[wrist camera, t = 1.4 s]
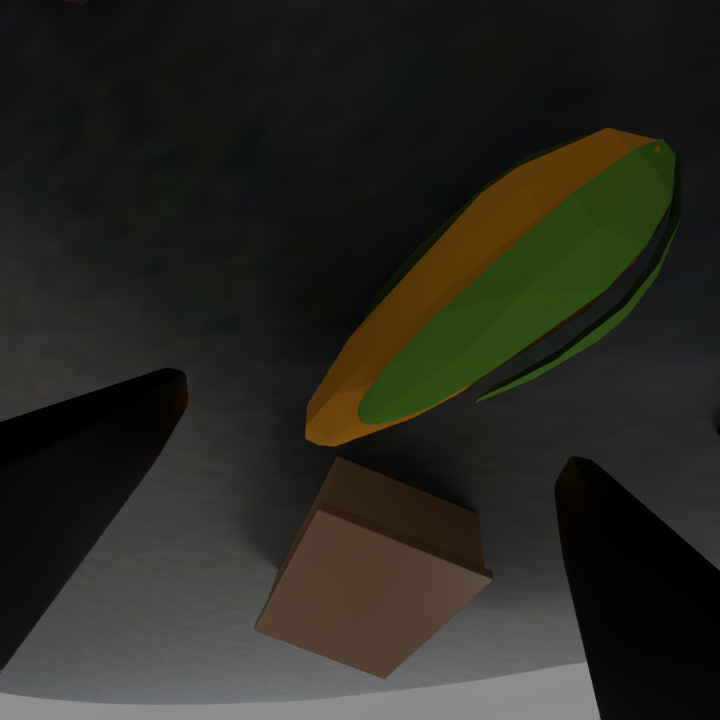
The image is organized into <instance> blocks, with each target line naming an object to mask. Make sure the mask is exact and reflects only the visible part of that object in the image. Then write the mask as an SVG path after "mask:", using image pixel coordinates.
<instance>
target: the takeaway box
mask: <svg viewBox="0 0 720 720" xmlns="http://www.w3.org/2000/svg"><path fill="white" fill-rule="evenodd" d="M492 580H493V574H492V571H491V570H488V569H486V568H484V560H483V552H482V544H481V536H480V528H479V520H478V514H477V513H475V512H472V511H470V510H468V509H465V508H463V507H460V506H458V505H455V504H453V503H451V502H448V501H446V500H443V499H441V498H438V497H436V496H433V495H431V494H429V493H426V492H424V491H421V490H419V489H416V488H414V487H412V486H409V485H407V484H404V483H402V482H399V481H397V480H395V479H392V478H390V477H387V476H385V475H382V474H380V473H377V472H375V471H373V470H370V469H368V468H365V467H363V466H360V465H358V464H356V463H353V462H351V461H348V460H346V459H343V458H341V457H337V458H336V460H335V462H334V464H333V466H332V468H331V470H330V471H329V473H328V475H327V477H326V479H325V481H324V483H323V485H322V487H321V489H320V491H319V493H318V495H317V497H316V498H315V500H314V502H313V504H312V506H311V508H310V510H309V512H308V514H307V516H306V518H305V520H304V522H303V524H302V525H301V527H300V529H299V531H298V533H297V535H296V537H295V539H294V541H293V543H292V545H291V547H290V549H289V551H288V553H287V554H286V556H285V558H284V560H283V562H282V564H281V566H280V568H279V570H278V572H277V575H276V578H275V581H274V584H273V587H272V589H271V592H270V595H269V598H268V600H267V602H266V604H265V606H264V608H263V610H262V612H261V614H260V616H259V617H258V619H257V621H256V623H255V626H254V630H255V631H258V632H260V633H263V634H266V635H268V636H271V637H274V638H276V639H279V640H282V641H284V642H287V643H290V644H292V645H295V646H298V647H300V648H303V649H306V650H308V651H311V652H314V653H316V654H319V655H322V656H324V657H327V658H330V659H332V660H335V661H338V662H340V663H343V664H346V665H348V666H351V667H354V668H356V669H359V670H362V671H364V672H367V673H370V674H372V675H375V676H378V677H380V678H383V679H385V678H386V677H387V676H389V675H390V674H391V673H392V672H393V671H394V670H395V669H396V668H397V667H398V666H399V665H401V664H402V663H403V662H404V661H405V660H406V659H407V658H408V657H409V656H410V655H411V654H413V653H414V652H415V651H416V650H417V649H418V648H419V647H420V646H421V645H422V644H423V643H425V642H426V641H427V640H428V639H429V638H430V637H431V636H432V635H433V634H434V633H436V632H437V631H438V630H439V629H440V628H441V627H442V626H443V625H444V624H445V623H446V622H448V621H449V620H450V619H451V618H452V617H453V616H454V615H455V614H456V613H457V612H458V611H460V610H461V609H462V608H463V607H464V606H465V605H466V604H467V603H468V602H469V601H470V600H472V599H473V598H474V597H475V596H476V595H477V594H478V593H479V592H480V591H481V590H483V589H484V588H485V587H486V586H487V585H488V584H489V583H490V582H491V581H492Z"/></svg>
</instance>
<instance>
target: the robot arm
mask: <svg viewBox="0 0 720 720" xmlns="http://www.w3.org/2000/svg"><path fill="white" fill-rule="evenodd" d="M187 404H188V392H187V382H186V375H185V373H184V372H183V371H181V370H176V369H172V368H164V369H161V370H158V371H154V372H151V373H148V374H145V375H142V376H139V377H136V378H133V379H130V380H127V381H124V382H121V383H118V384H115V385H112V386H109V387H106V388H103V389H99V390H96V391H93V392H90V393H87V394H84V395H81V396H78V397H75V398H72V399H69V400H66V401H63V402H60V403H57V404H54V405H51V406H48V407H44V408H41V409H38V410H35V411H32V412H29V413H26V414H23V415H20V416H17V417H14V418H11V419H8V420H5V421H2V422H0V670H2V669H3V668H4V667H5V666H6V664H7V663H8V662H9V660H10V659H11V658H12V656H13V655H14V654H15V652H16V651H17V649H18V648H19V647H20V645H21V644H22V643H23V641H24V640H25V639H26V637H27V636H28V634H29V633H30V632H31V630H32V629H33V628H34V626H35V625H36V624H37V622H38V621H39V619H40V618H41V617H42V615H43V614H44V613H45V611H46V610H47V609H48V607H49V606H50V604H51V603H52V602H53V600H54V599H55V598H56V596H57V595H58V594H59V592H60V591H61V589H62V588H63V587H64V585H65V584H66V583H67V581H68V580H69V579H70V577H71V576H72V574H73V573H74V572H75V570H76V569H77V568H78V566H79V565H80V564H81V562H82V561H83V559H84V558H85V557H86V555H87V554H88V553H89V551H90V550H91V549H92V547H93V546H94V545H95V543H96V542H97V540H98V539H99V538H100V536H101V535H102V534H103V532H104V531H105V530H106V528H107V527H108V525H109V524H110V523H111V521H112V520H113V519H114V517H115V516H116V515H117V513H118V512H119V510H120V509H121V508H122V506H123V505H124V504H125V502H126V501H127V500H128V498H129V497H130V495H131V494H132V493H133V491H134V490H135V489H136V487H137V486H138V485H139V483H140V482H141V480H142V479H143V478H144V476H145V475H146V474H147V472H148V471H149V470H150V468H151V467H152V465H153V464H154V462H155V461H156V459H157V458H158V456H159V454H160V453H161V451H162V449H163V448H164V446H165V444H166V442H167V441H168V439H169V437H170V435H171V434H172V432H173V430H174V429H175V427H176V425H177V423H178V422H179V420H180V418H181V416H182V415H183V413H184V411H185V409H186V407H187ZM717 434H718V435H719V436H720V426H719V428H718V429H717ZM554 491H555V500H556V508H557V517H558V525H559V533H560V542H561V549H562V556H563V561H564V565H565V570H566V574H567V578H568V583H569V587H570V591H571V595H572V600H573V604H574V608H575V612H576V617H577V621H578V625H579V629H580V634H581V638H582V642H583V646H584V651H585V655H586V659H587V663H588V667H589V672H590V676H591V680H592V684H593V689H594V693H595V697H596V701H597V706H598V709H599V714H600V718H601V720H720V571H719V570H718V569H717V568H716V567H715V566H714V565H712V564H711V563H710V562H709V561H708V560H707V559H706V558H704V557H703V556H702V555H701V554H700V553H699V552H697V551H696V550H695V549H694V548H693V547H692V546H691V545H689V544H688V543H687V542H686V541H685V540H684V539H683V538H681V537H680V536H679V535H678V534H677V533H676V532H674V531H673V530H672V529H671V528H670V527H669V526H668V525H666V524H665V523H664V522H663V521H662V520H661V519H660V518H658V517H657V516H656V515H655V514H654V513H653V512H652V511H650V510H649V509H648V508H647V507H646V506H645V505H643V504H642V503H641V502H640V501H639V500H638V499H637V498H635V497H634V496H633V495H632V494H631V493H630V492H629V491H627V490H626V489H625V488H624V487H623V486H622V485H620V484H619V483H618V482H617V481H616V480H615V479H614V478H612V477H611V476H610V475H609V474H608V473H607V472H606V471H604V470H603V469H602V468H601V467H600V466H599V465H598V464H596V463H595V462H594V461H592V460H590V459H586V458H581V457H577V456H574V457H571V458H570V459H569V460H568V461H567V463H566V465H565V467H564V468H563V470H562V472H561V473H560V475H559V477H558V479H557V481H556V483H555V490H554ZM0 673H1V672H0Z"/></svg>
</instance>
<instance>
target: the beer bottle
mask: <svg viewBox="0 0 720 720" xmlns="http://www.w3.org/2000/svg"><path fill="white" fill-rule="evenodd" d="M64 1H67V2H71V3H75V4H79V5H84V4H86V3H87V2H88V1H89V0H64Z"/></svg>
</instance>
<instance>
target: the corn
mask: <svg viewBox="0 0 720 720" xmlns="http://www.w3.org/2000/svg"><path fill="white" fill-rule="evenodd" d="M675 156H676V155H675V154H674V152H673V151H672V150H671V149H670V147H669V146H668V145H667V144H666V142H665V141H664V140H663V139H659V140H656V139H652V138H648V137H646V136H645V135H644V134H643V133H628V132H623V131H619V130H615V129H611V128H606V129H603V130H601V131H599V132H596V133H594V134H584V135H581V136H579V137H576V138H573V139H571V140H568V141H565V142H563V143H560V144H557V145H555V146H552V147H549V148H547V149H544V150H541V151H539V152H536V153H533V154H531V155H530V156H528V157H527V158H525V159H524V160H522V161H521V162H519V163H518V164H516V165H514V166H513V167H511V168H510V169H508V170H507V171H505V172H504V173H502V174H501V175H499V176H498V177H496V178H494V179H493V180H491V181H490V182H488V183H487V184H486V185H485V186H484V187H483V188H482V189H481V190H480V191H478V192H477V193H476V194H475V195H474V196H473V197H472V198H471V199H470V200H469V201H468V202H466V203H465V204H464V205H463V206H462V207H461V208H460V209H459V210H458V211H457V212H456V213H454V214H453V215H452V216H451V217H450V218H449V219H448V220H447V221H446V222H445V223H444V224H443V225H441V226H440V227H439V228H438V229H437V230H436V231H435V232H434V233H433V234H432V235H431V236H429V237H428V238H427V239H426V240H425V241H424V242H423V243H422V244H421V245H420V246H419V247H418V248H417V249H416V250H415V251H414V252H413V254H412V255H411V256H410V257H409V258H408V259H407V260H406V261H405V263H404V264H403V265H402V266H401V267H400V268H399V269H398V270H397V272H396V273H395V274H394V275H393V276H392V277H391V278H390V279H389V281H388V282H387V283H386V284H385V285H384V286H383V287H382V289H381V290H380V291H379V293H378V294H377V295H376V297H375V298H374V300H373V301H372V302H371V304H370V305H369V307H368V308H367V309H366V312H365V316H364V319H365V320H364V321H363V323H362V324H361V325H360V326H359V327H358V328H357V329H356V330H355V332H354V333H353V334H352V335H351V337H350V338H349V339H348V341H347V343H346V344H345V346H344V347H343V349H342V351H341V352H340V354H339V355H338V357H337V359H336V360H335V362H334V363H333V365H332V367H331V368H330V370H329V371H328V373H327V375H326V376H325V378H324V379H323V381H322V383H321V384H320V386H319V387H318V389H317V391H316V392H315V394H314V395H313V397H312V399H311V400H310V402H309V403H308V405H307V418H306V434H305V439H307V440H309V441H311V442H313V443H315V444H317V445H324V446H334V447H335V446H337V445H340V444H343V443H345V442H348V441H351V440H354V439H356V438H359V437H362V436H365V435H367V434H370V433H373V432H376V431H378V430H381V429H384V428H387V427H389V426H392V425H395V424H398V423H400V422H403V421H406V420H408V419H411V418H414V417H415V416H417V415H419V414H421V413H423V412H425V411H427V410H429V409H431V408H433V407H434V406H436V405H438V404H440V403H442V402H444V401H446V400H448V399H450V398H452V397H453V396H455V395H457V394H459V393H460V392H462V391H463V390H465V389H466V388H468V387H470V386H471V385H473V384H474V383H476V382H477V381H479V380H480V379H482V378H484V377H485V376H487V375H488V374H490V373H491V372H493V371H494V370H496V369H498V368H499V367H501V366H502V365H504V364H505V363H507V362H508V361H510V360H512V359H513V358H515V357H516V356H518V355H519V354H521V353H522V352H524V351H526V350H527V349H529V348H530V347H532V346H533V345H535V344H536V343H538V342H540V341H541V340H543V339H544V338H546V337H547V336H549V335H550V334H552V333H554V332H555V331H557V330H558V329H560V328H561V327H563V326H564V325H566V324H568V323H569V322H571V321H572V320H574V319H575V318H577V317H578V316H580V315H582V314H583V313H585V312H586V311H587V310H588V309H589V308H590V307H591V306H592V305H593V304H594V303H595V302H596V301H597V300H598V299H599V298H600V297H601V296H602V295H603V294H604V293H605V292H606V291H607V290H608V289H609V288H610V287H611V286H612V285H613V284H614V283H615V282H616V281H617V280H618V279H619V278H620V277H621V276H622V275H623V274H624V273H625V272H626V271H627V270H628V269H629V268H630V267H631V266H632V265H633V264H634V263H635V262H636V261H637V260H638V258H639V257H640V255H641V254H642V252H643V250H644V249H645V247H646V246H647V244H648V243H649V241H650V240H651V238H652V237H653V235H654V234H655V232H656V230H657V229H658V227H659V226H660V224H661V223H662V221H663V220H664V218H665V217H666V215H667V213H668V206H669V204H670V202H671V200H672V205H671V210H670V216H669V222H668V227H667V229H666V231H665V233H664V235H663V237H662V239H661V241H660V243H659V245H658V247H657V249H656V251H655V253H654V255H653V257H652V259H651V261H650V263H649V265H648V267H647V269H646V270H645V271H644V273H643V274H642V275H641V276H640V278H639V279H638V280H637V281H636V283H635V284H634V285H633V286H632V288H631V289H630V290H629V291H628V293H627V294H626V295H625V296H624V298H623V299H622V300H621V301H620V303H618V304H617V305H616V306H614V307H613V308H612V309H611V310H609V311H608V312H607V313H605V314H604V315H603V316H602V317H600V318H599V319H598V320H597V321H595V322H594V323H593V324H591V325H590V326H589V327H588V328H586V329H585V330H584V331H582V332H581V333H580V334H579V335H577V336H576V337H575V338H574V339H572V340H571V341H570V342H568V343H567V344H566V345H565V346H563V347H562V348H561V349H559V350H558V351H556V352H555V353H553V354H551V355H549V356H548V357H546V358H544V359H543V360H541V361H539V362H537V363H536V364H534V365H532V366H531V367H529V368H527V369H525V370H524V371H522V372H520V373H519V374H517V375H515V376H513V377H511V378H509V379H507V380H505V381H502V382H500V383H498V384H496V385H494V386H492V387H491V388H490V389H488V390H487V391H486V392H485V393H484V394H483V395H482V396H480V398H479V399H478V400H477V401H476V402H478V401H481V400H483V399H486V398H488V397H491V396H493V395H495V394H498V393H500V392H503V391H505V390H508V389H510V388H513V387H515V386H517V385H520V384H522V383H525V382H527V381H530V380H532V379H534V378H536V377H538V376H539V375H541V374H543V373H545V372H546V371H548V370H550V369H551V368H553V367H555V366H556V365H558V364H560V363H561V362H563V361H565V360H567V359H568V358H570V357H572V356H573V355H575V354H577V353H578V352H580V351H582V350H583V349H585V348H587V347H589V346H590V345H592V344H594V343H595V342H597V341H599V340H600V339H601V338H602V337H604V336H605V335H606V334H607V333H608V332H609V331H610V330H612V329H613V328H614V327H615V326H616V325H617V324H618V323H619V322H621V321H622V320H623V319H624V318H625V317H626V316H627V315H628V314H629V313H630V312H631V310H632V309H633V308H634V306H635V305H636V304H637V302H638V301H639V300H640V299H641V297H642V296H643V295H644V293H645V292H646V291H647V289H648V288H649V287H650V285H651V284H652V283H653V281H654V280H655V279H656V277H657V276H658V274H659V271H660V269H661V266H662V264H663V261H664V259H665V257H666V254H667V252H668V249H669V247H670V244H671V242H672V239H673V237H674V235H675V232H676V230H677V227H678V225H679V222H680V219H681V216H682V176H683V166H682V165H681V164H679V163H677V162H676V161H675ZM675 167H676V170H677V175H676V181H675V187H674V193H673V199H672V192H673V180H674V168H675Z"/></svg>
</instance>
